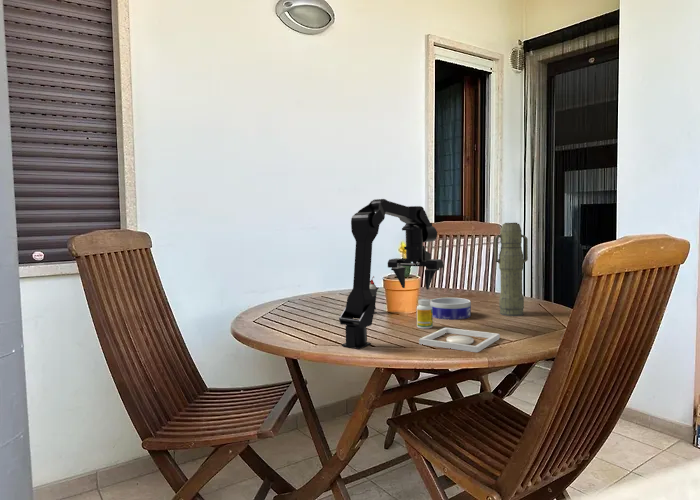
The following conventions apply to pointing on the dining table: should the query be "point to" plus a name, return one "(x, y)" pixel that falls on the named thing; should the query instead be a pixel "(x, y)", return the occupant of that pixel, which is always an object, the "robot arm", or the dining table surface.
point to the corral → (429, 341)
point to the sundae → (373, 289)
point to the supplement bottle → (424, 314)
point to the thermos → (511, 268)
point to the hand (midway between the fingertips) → (415, 288)
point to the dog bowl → (451, 308)
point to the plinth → (460, 339)
